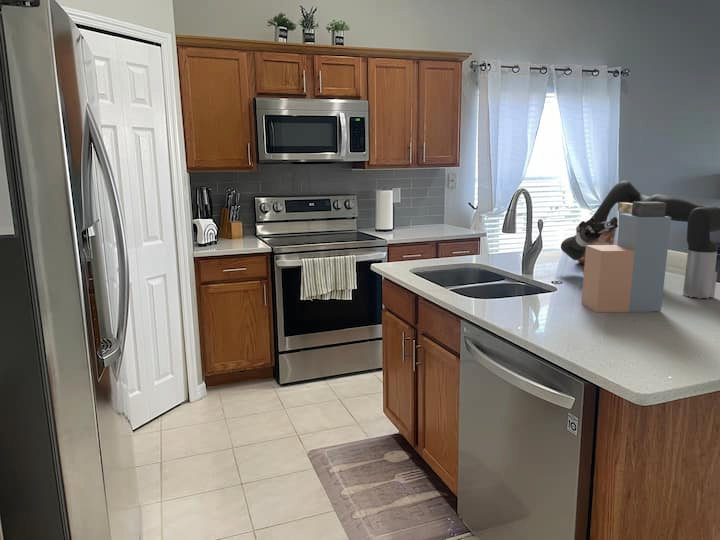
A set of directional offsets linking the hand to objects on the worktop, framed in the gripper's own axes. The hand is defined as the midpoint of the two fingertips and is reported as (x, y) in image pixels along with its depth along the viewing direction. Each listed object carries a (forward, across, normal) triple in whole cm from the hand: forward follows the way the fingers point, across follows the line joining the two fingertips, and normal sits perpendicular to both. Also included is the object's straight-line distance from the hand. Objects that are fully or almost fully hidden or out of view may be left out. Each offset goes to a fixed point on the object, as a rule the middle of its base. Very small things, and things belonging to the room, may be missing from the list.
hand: (605, 219), depth 213 cm
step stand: (+11, -6, +38) cm, 40 cm away
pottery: (-55, +18, 0) cm, 58 cm away
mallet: (+22, 0, +8) cm, 23 cm away
